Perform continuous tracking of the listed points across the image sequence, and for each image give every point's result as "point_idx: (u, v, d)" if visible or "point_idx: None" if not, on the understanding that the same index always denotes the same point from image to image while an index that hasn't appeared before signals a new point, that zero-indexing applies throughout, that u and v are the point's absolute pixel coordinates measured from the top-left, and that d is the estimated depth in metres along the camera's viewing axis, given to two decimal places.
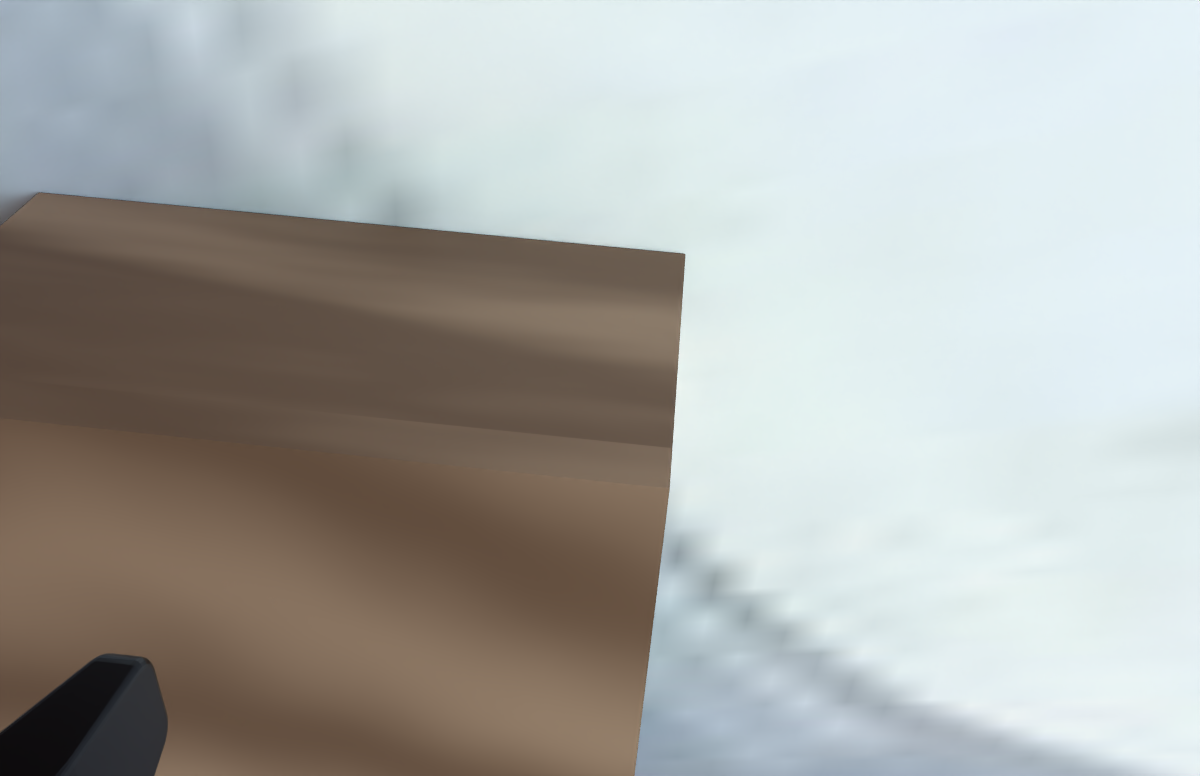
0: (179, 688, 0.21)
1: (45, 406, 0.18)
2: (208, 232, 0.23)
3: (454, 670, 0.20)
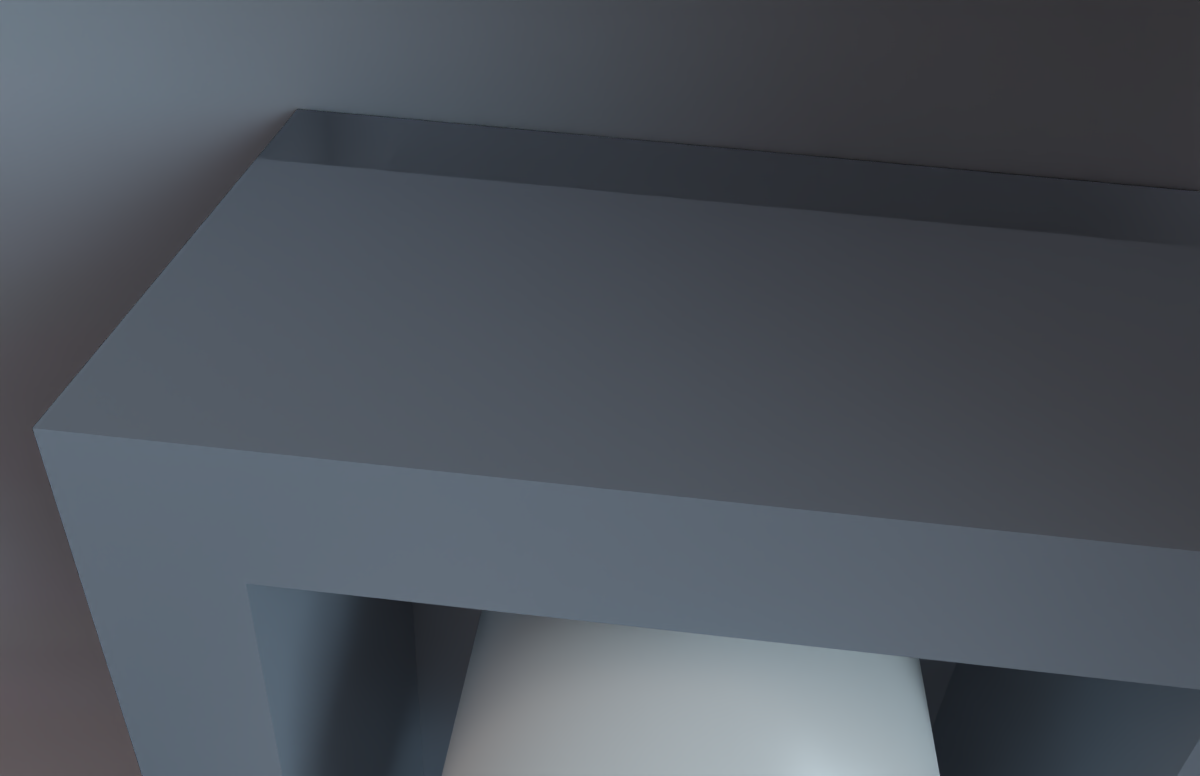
0: None
1: None
2: None
3: None
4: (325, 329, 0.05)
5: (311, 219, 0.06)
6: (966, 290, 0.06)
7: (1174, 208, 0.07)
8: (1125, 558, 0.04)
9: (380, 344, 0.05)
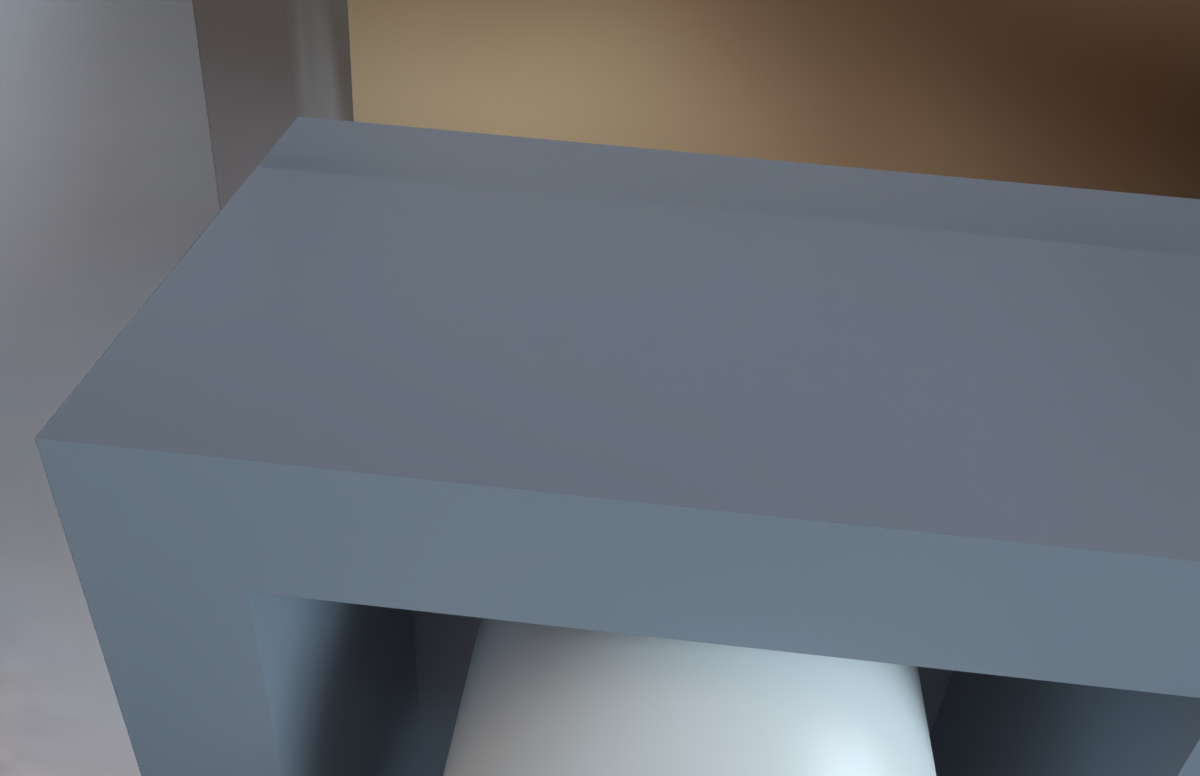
0: None
1: None
2: None
3: None
4: (325, 340, 0.05)
5: (311, 228, 0.06)
6: (963, 299, 0.06)
7: (1172, 216, 0.07)
8: (1120, 568, 0.04)
9: (380, 353, 0.05)
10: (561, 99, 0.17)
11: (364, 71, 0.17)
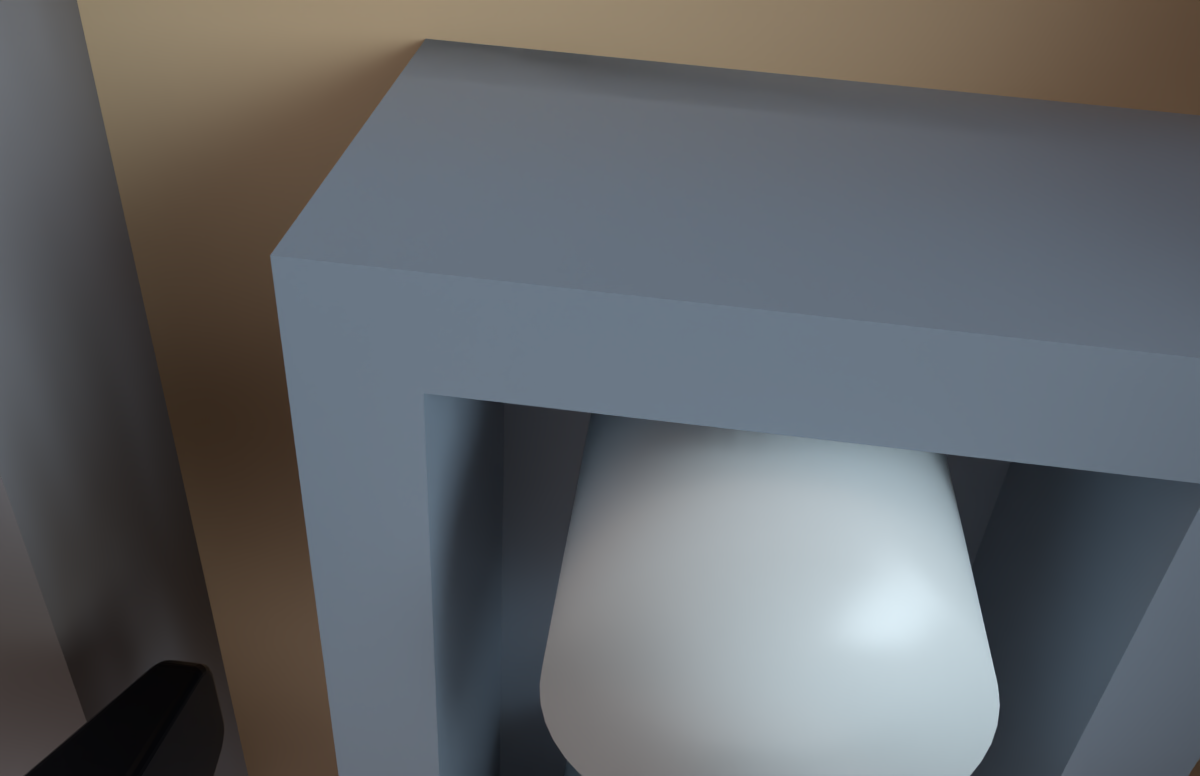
0: None
1: None
2: None
3: None
4: (483, 197, 0.07)
5: (455, 119, 0.07)
6: (1001, 181, 0.07)
7: (1177, 127, 0.08)
8: (1130, 363, 0.06)
9: (529, 207, 0.06)
10: None
11: (224, 596, 0.13)
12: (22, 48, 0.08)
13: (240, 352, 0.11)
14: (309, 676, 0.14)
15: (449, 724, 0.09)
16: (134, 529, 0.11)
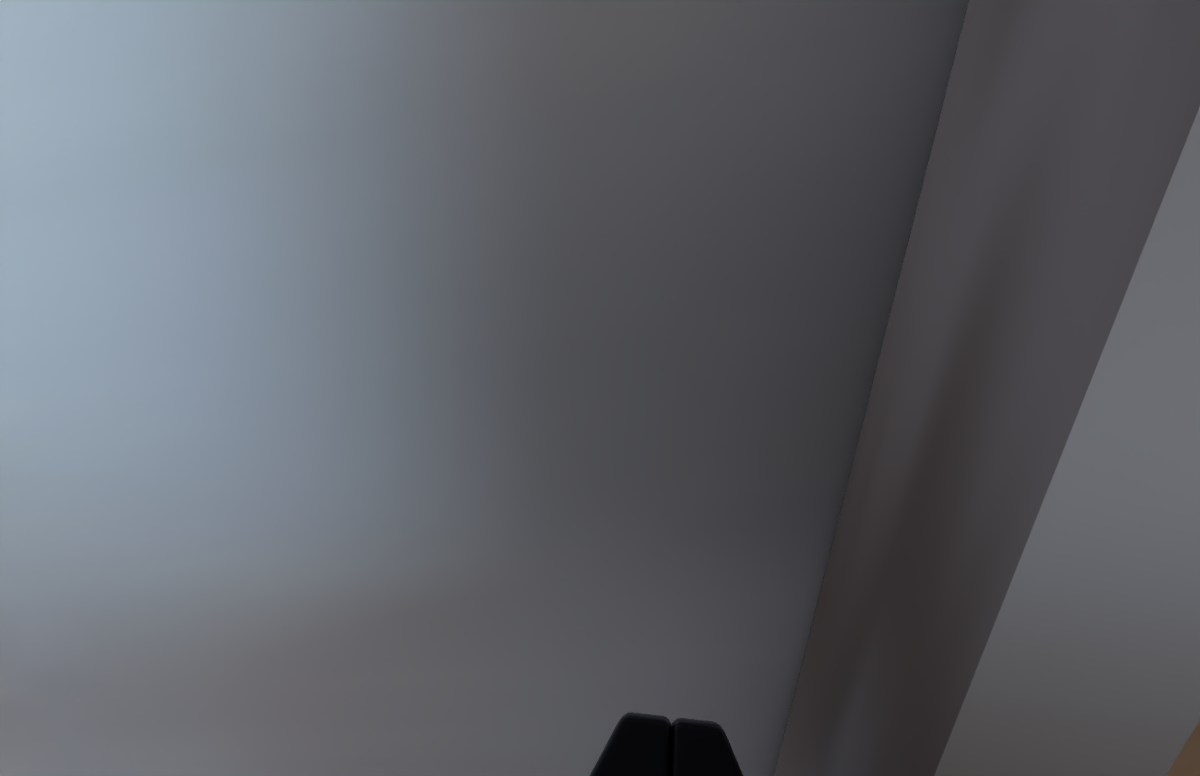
0: None
1: None
2: None
3: None
4: None
5: None
6: None
7: None
8: None
9: None
10: None
11: None
12: None
13: None
14: None
15: None
16: None
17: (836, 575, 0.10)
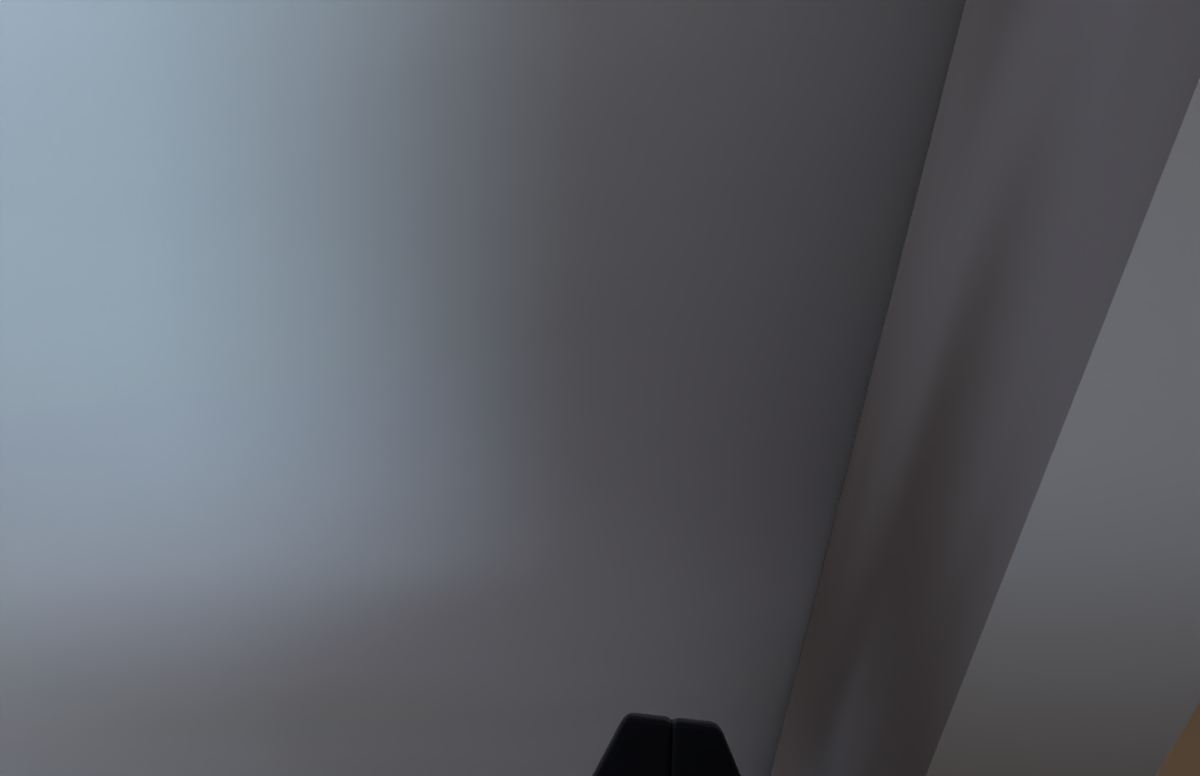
0: None
1: None
2: None
3: None
4: None
5: None
6: None
7: None
8: None
9: None
10: None
11: None
12: None
13: None
14: None
15: None
16: None
17: (833, 572, 0.10)
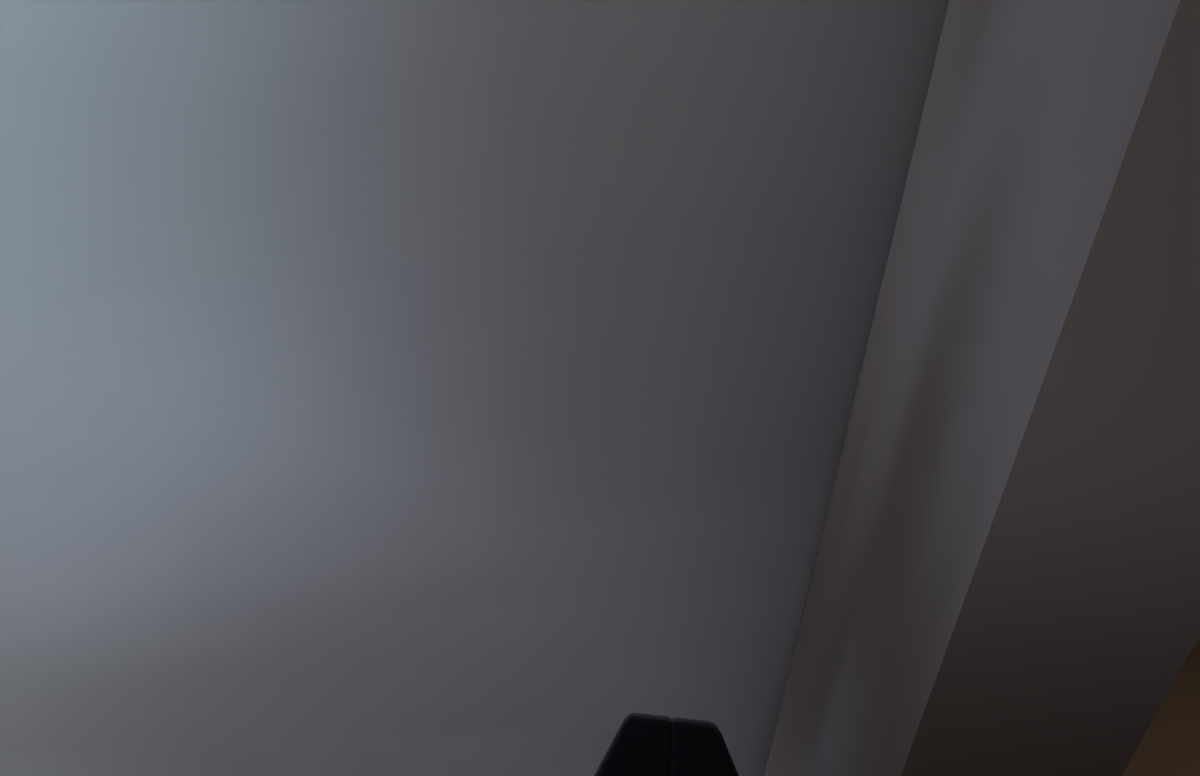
0: None
1: None
2: None
3: None
4: None
5: None
6: None
7: None
8: None
9: None
10: None
11: None
12: None
13: None
14: None
15: None
16: None
17: (824, 570, 0.10)
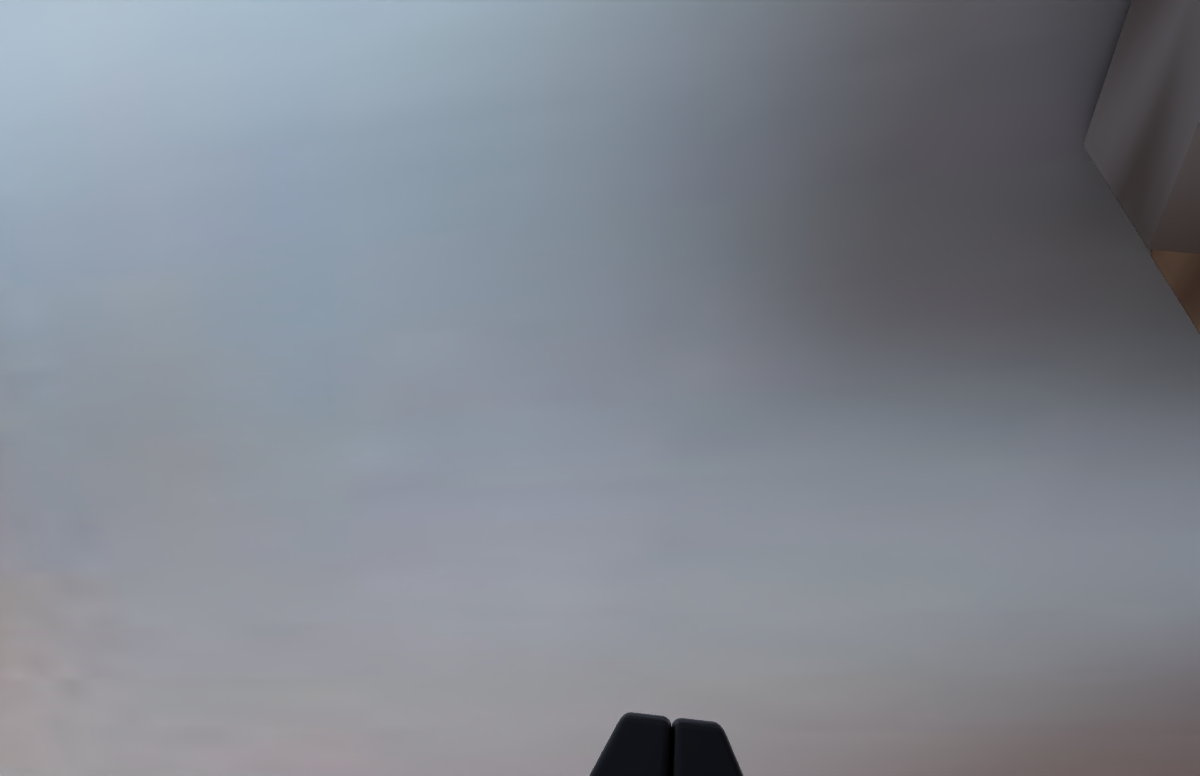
0: None
1: None
2: None
3: None
4: None
5: None
6: None
7: None
8: None
9: None
10: None
11: None
12: None
13: None
14: None
15: None
16: None
17: None
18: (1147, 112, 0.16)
